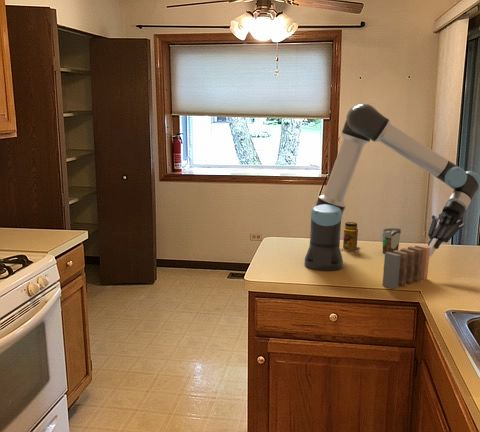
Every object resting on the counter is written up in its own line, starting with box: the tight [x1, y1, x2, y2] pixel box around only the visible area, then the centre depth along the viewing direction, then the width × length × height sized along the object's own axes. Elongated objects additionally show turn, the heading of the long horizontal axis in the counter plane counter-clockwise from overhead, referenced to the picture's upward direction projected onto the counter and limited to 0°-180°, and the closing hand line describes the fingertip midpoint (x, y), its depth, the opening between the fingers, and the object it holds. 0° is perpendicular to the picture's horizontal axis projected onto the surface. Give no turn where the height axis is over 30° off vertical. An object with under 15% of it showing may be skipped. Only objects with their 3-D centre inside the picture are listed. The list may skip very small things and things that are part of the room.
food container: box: [381, 227, 402, 255], centre depth 232 cm, size 12×6×10 cm, turn 144°
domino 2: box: [393, 249, 408, 288], centre depth 189 cm, size 2×5×12 cm, turn 39°
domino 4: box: [407, 246, 423, 283], centre depth 195 cm, size 2×5×12 cm, turn 39°
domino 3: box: [399, 247, 416, 285], centre depth 192 cm, size 2×5×12 cm, turn 39°
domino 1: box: [382, 252, 401, 290], centre depth 186 cm, size 2×5×12 cm, turn 39°
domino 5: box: [414, 244, 430, 281], centre depth 197 cm, size 2×5×12 cm, turn 39°
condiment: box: [340, 221, 361, 253], centre depth 236 cm, size 7×8×12 cm
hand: (428, 254), depth 199 cm, fingers closed
